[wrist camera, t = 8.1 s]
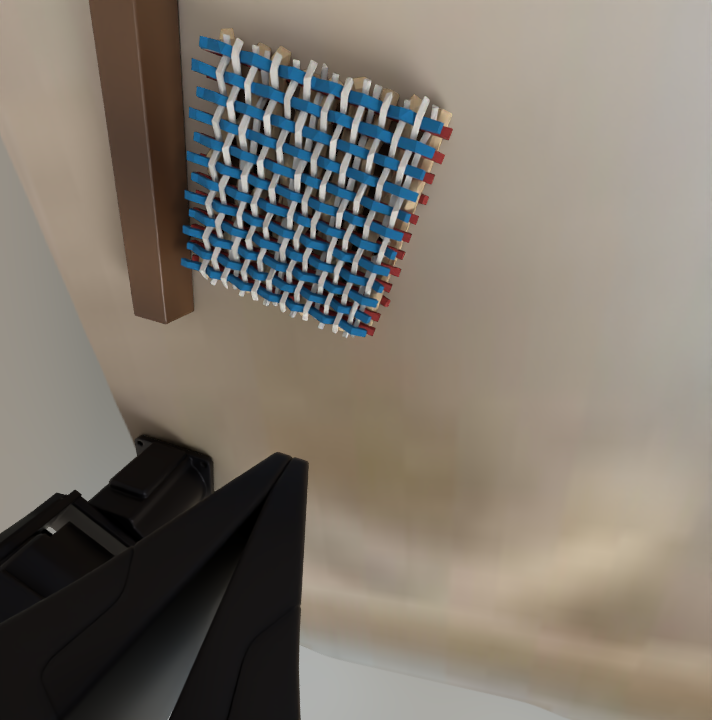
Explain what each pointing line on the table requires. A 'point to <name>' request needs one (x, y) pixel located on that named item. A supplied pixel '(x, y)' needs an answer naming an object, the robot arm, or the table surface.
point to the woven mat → (307, 184)
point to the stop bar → (147, 148)
